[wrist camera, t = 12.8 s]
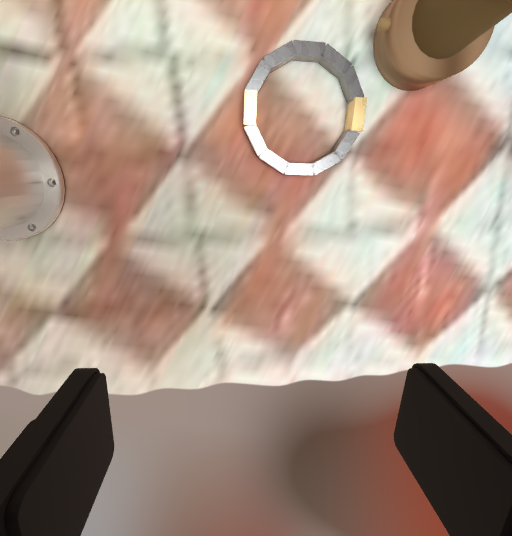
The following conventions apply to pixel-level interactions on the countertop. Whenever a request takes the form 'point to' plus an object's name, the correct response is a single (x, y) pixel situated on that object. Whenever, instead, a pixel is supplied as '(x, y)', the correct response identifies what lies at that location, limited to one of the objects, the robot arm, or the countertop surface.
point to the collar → (349, 87)
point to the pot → (415, 51)
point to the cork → (454, 23)
